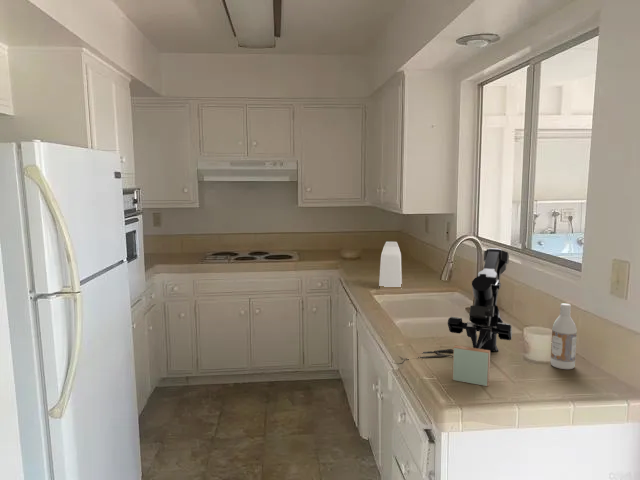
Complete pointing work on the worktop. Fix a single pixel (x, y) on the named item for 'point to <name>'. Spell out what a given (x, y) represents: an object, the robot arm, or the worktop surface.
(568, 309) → the bath foam
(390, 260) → the milk
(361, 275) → the worktop surface
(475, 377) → the tile
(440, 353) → the hacksaw
